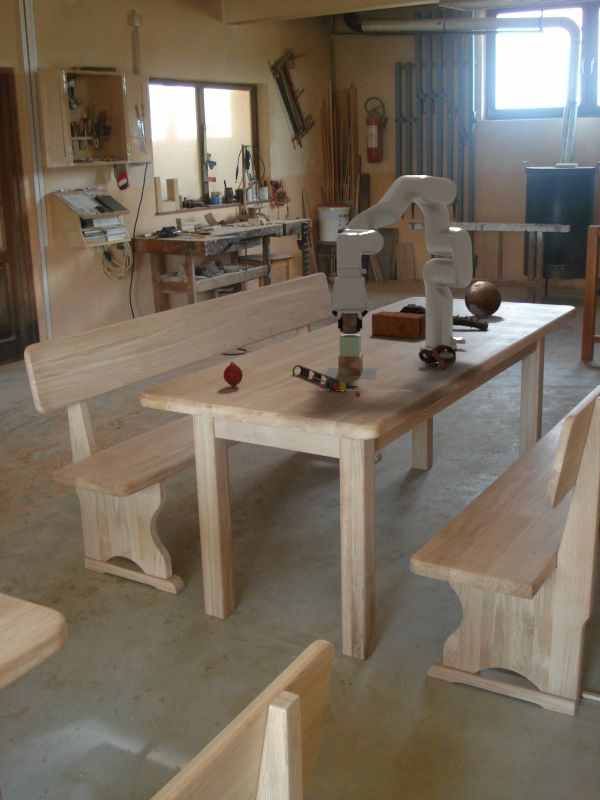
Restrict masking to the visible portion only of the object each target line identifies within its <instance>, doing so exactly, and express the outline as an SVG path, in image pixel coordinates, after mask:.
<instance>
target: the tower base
mask: <svg viewBox="0 0 600 800" xmlns="http://www.w3.org/2000/svg"><path fill="white" fill-rule="evenodd" d="M363 359H364V357H363V352H362V351H361V353H360V356H359V357H340V353H339V354H338V356H337V361H338V362H337V363H338V364H337V366H338V367H337V368H338V375H342V376H361V374H362V371H363V368H364V365H363V364H364V363H363V362H364V361H363Z"/></svg>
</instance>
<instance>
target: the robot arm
mask: <svg viewBox="0 0 600 800" xmlns="http://www.w3.org/2000/svg"><path fill="white" fill-rule="evenodd" d="M457 192H458V189H457V186H456V184H455V182H454V181H453V180H452V179H449V178H446V177H438V176H437V177H436V176H431V175H424V174H423V175H419V174H418V175H412V174H411V175H408V174H406V175H401V176H399V177H398V178H396V179H395V180H394V181H393V183H392V184H391V186H390V187H389V188H388V189H387V190H386V192H385V193H384V194H383V196H382V197H381V198H380V200H379V201H378V202H377V203H376V204H374V205H371V206H370V207H369V208H367V209H366V210H363V211H362V212H360V213H358V214H357V215H355V216H354V217H353V218H352V219H351V221H349V222H348V224H347V225H346V226H345V227H344V229H343V231H342V232H340V233H338V234H337V235H336V275H337V276H335V278H334V283H333V294H332V295H333V296H332V297H333V298H332V300H331V301H330V302H329V304H328V305H327V306H326V310H327V311H329V312H330V313H331V314H332V315H333V316H334V317H335V318H336V319H337V329H338V330H339V332H340V333H342V313H344V311H356V313H358V319H357V331H358V333H360V332H361V329H363V318H364V317H365V316H366V315H368V314H369V313H370V312H371V311H372V310H373V309H374V306H373V304H372V303H371V302H370V301H369V299H368V298H367V287H366V279H365V276H362V275H365V274H367V269H366V268H365V269H364V268H362V255H368V256H370V255H376V254H378V253H379V252H380V251H381V250H382V249H383V247H384V245H385V244H384V243H385V242H384V241H385V240H384V237H383V235H382V234H381V233H380V232H379V231H377V229H381V228H384V227H387V226H390V225H392V224H395V223H397V222H398V221H399V220H400V218H401V217H402V216H403V214H404V213H405V212H406V210H407V209H408V208H409V207H410V206H411V204H412V203H415V204H416V205H417V206H418V207H419V209H420V210H421V212H422V215H423V221H424V240H425V247H426V248H425V249H426V250H427V252H428V253H429V254H432V255H434V256H435V255H436V256H446V257H449V256H450V257H451V258H452V259H451V258H445V257H444V258H441V257H439V258H438V257H436V258H431V259H429V260H427V261H426V262H425V263H424V265H423V268H422V277H423V278H422V279H423V284H424V290H425V291H424V293H425V303H424V304H425V305H424V306H425V307H424V308H425V337H424V338H425V340H424V341H425V342H423V343H422V344H420V348H421V349H420V350H422V349H427V350H432V349H434V348H435V346H437V345H446V346H449V347H451V348H453V349H455V350H456V349H458V347H457V346H458V344H461V345H466V337H465V338H463V337H455V336H454V333H453V332H454V330H453V327H454V325H453V316H454V315H453V314H454V298H453V293H452V291H451V289H450V288H456V289H464V288H468V286H469V285H470V284H471V282H472V279H473V244H472V238H471V236H470V234H469V232H468V231H467V230H466V229H464V228H462V227H451V222H450V212H449V209H448V207H447V206H448V205H450V204H452V203H453V202H454V201H455V199H456V197H457ZM366 307H367V308H366ZM443 352H448V350H446V349H445V350H444V351H443Z"/></svg>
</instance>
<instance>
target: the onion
mask: <svg viewBox="0 0 600 800" xmlns="http://www.w3.org/2000/svg"><path fill="white" fill-rule="evenodd" d="M243 376H244V374H243V371H242V369H241V368H240V367H239V366H238V364H236V363H235V362H234V361H231V362H229V364H228V365H227V367H225V369H224V370H223V379H224V381H225V382H226V384H228V385H230V386H231V387H232V388H235V387H237V386H238V385H239V384H240V383H241V382H242V379H243Z"/></svg>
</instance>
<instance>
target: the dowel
mask: <svg viewBox="0 0 600 800" xmlns="http://www.w3.org/2000/svg"><path fill="white" fill-rule="evenodd" d="M357 319H358V313H357V312H354V311H353V312H350V311H348V312H342V332H341V334H359V332H358V331H357Z"/></svg>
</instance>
